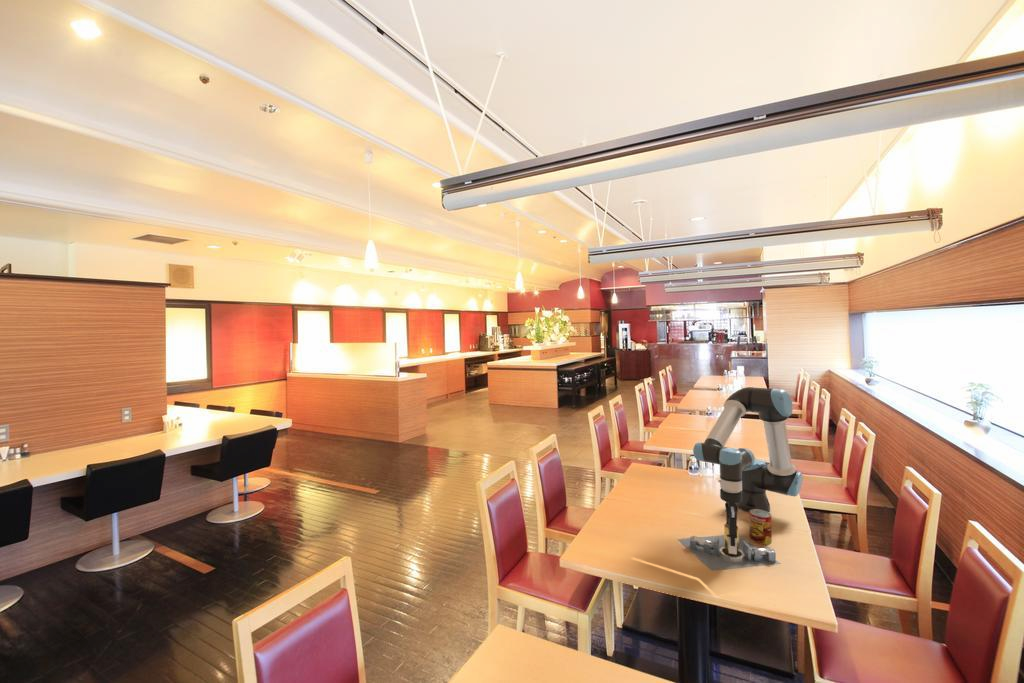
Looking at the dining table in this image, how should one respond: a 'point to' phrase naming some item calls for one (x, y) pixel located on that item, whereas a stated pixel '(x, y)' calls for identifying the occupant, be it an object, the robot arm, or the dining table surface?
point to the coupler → (726, 532)
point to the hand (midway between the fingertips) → (731, 549)
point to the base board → (717, 561)
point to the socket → (732, 559)
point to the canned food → (760, 526)
